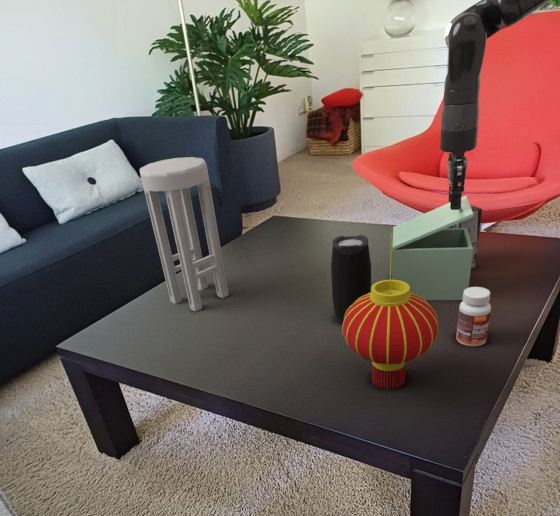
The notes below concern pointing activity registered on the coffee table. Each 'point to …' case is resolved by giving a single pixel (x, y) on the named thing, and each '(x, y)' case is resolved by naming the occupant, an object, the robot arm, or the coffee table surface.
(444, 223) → the lid
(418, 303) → the lantern
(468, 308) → the pill bottle
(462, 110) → the robot arm
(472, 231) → the coffee box
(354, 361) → the coffee table surface
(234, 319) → the coffee table surface
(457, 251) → the chest
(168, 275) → the stool
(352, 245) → the portable speaker
